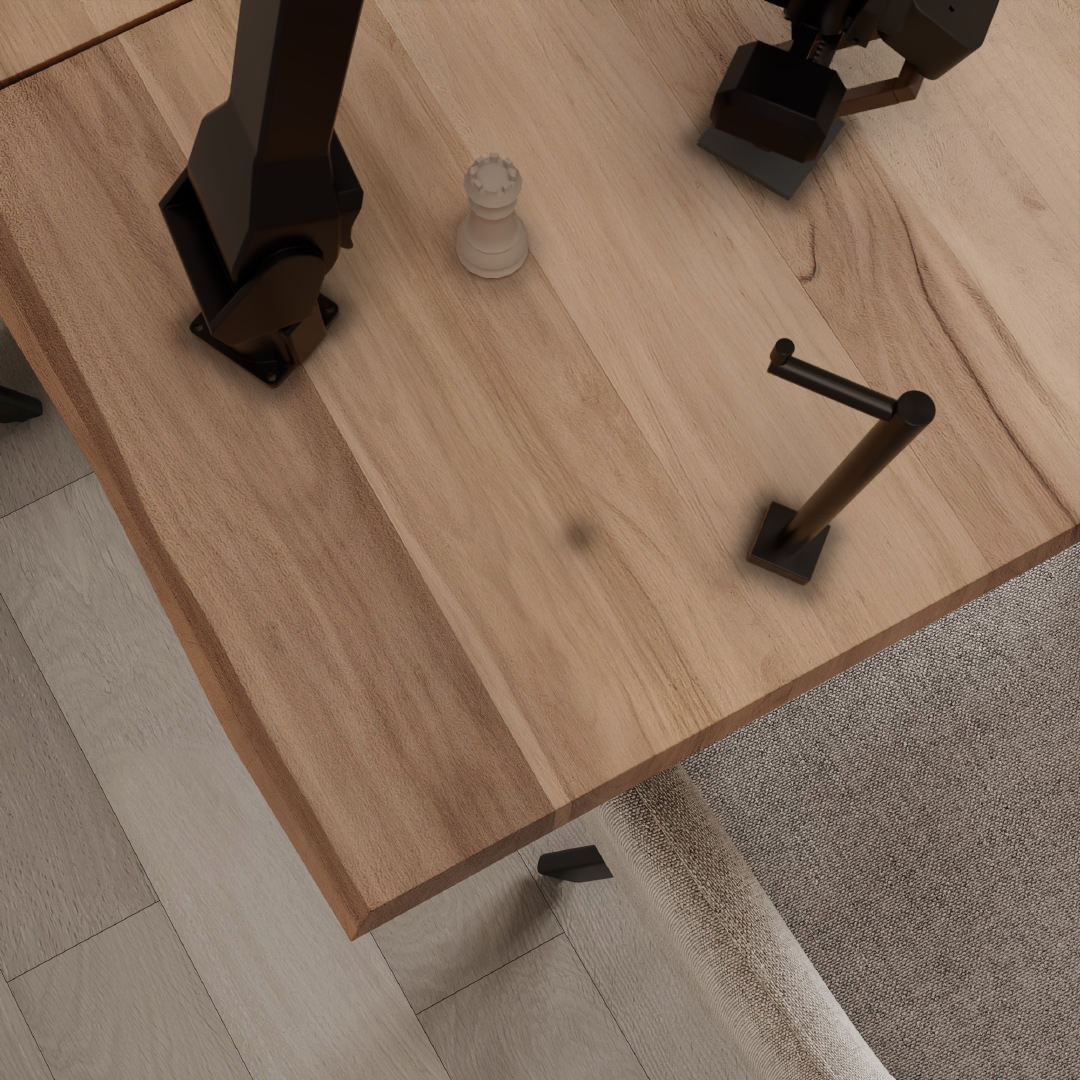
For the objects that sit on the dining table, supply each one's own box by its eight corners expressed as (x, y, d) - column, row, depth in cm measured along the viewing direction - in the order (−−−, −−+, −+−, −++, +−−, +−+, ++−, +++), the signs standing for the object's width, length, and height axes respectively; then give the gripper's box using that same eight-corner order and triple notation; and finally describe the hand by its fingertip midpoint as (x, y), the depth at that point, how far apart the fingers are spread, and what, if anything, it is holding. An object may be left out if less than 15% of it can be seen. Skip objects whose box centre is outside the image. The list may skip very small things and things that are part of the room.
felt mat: (696, 144, 70) (697, 140, 70) (753, 71, 72) (754, 67, 72) (788, 201, 70) (790, 197, 69) (843, 125, 71) (845, 122, 71)
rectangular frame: (727, 129, 67) (926, 82, 58) (765, 46, 69) (964, -13, 59) (735, 141, 68) (933, 96, 58) (773, 58, 70) (971, 1, 60)
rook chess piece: (447, 272, 67) (442, 196, 59) (466, 211, 68) (463, 129, 61) (518, 290, 67) (522, 215, 59) (535, 228, 68) (542, 147, 60)
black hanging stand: (674, 530, 63) (760, 379, 43) (697, 476, 64) (791, 305, 44) (804, 586, 62) (950, 459, 43) (825, 531, 63) (977, 382, 44)
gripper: (966, 98, 50) (854, 274, 65) (1075, -184, 55) (948, 40, 70) (739, 9, 51) (681, 203, 66) (868, -260, 56) (787, -23, 71)
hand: (782, 104), depth 68 cm, fingers closed on rectangular frame, 7 cm apart
